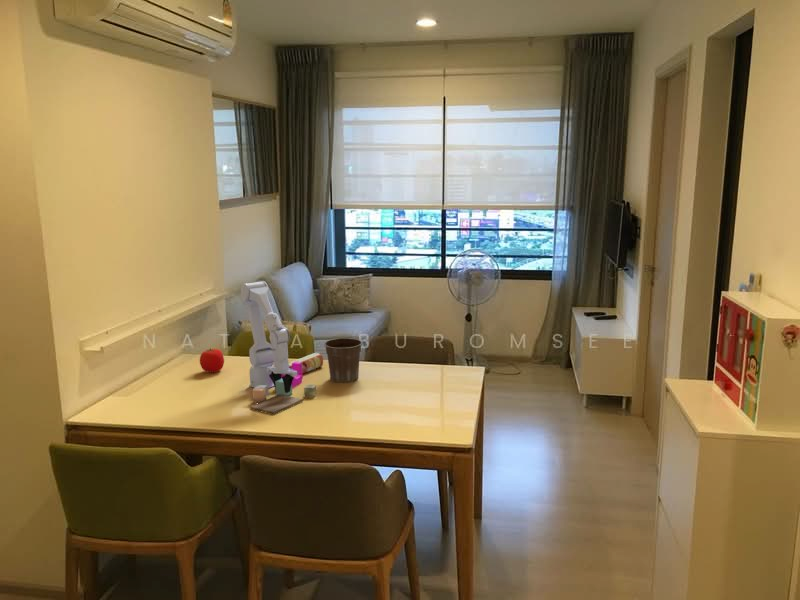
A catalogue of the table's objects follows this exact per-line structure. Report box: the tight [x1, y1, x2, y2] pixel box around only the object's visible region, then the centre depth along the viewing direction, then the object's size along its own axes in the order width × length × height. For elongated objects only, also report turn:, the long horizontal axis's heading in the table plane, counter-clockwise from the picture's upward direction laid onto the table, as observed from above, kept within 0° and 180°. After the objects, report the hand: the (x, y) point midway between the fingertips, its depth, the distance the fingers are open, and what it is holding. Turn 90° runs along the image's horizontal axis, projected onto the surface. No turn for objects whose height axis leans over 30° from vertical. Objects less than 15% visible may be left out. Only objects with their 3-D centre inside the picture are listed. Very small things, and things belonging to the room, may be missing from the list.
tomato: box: [199, 348, 225, 373], centre depth 289 cm, size 10×11×11 cm
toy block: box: [281, 362, 304, 389], centre depth 269 cm, size 15×6×8 cm, turn 157°
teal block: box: [275, 379, 293, 396], centre depth 256 cm, size 4×4×6 cm
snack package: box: [288, 352, 324, 375], centre depth 286 cm, size 21×7×7 cm, turn 144°
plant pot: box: [324, 337, 363, 383], centre depth 274 cm, size 16×16×16 cm
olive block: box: [303, 384, 317, 398], centre depth 254 cm, size 4×4×4 cm
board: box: [250, 394, 304, 415], centre depth 244 cm, size 12×16×1 cm
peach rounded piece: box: [252, 387, 267, 404], centre depth 249 cm, size 5×5×5 cm
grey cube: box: [254, 385, 269, 397], centre depth 255 cm, size 4×4×4 cm
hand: (282, 391), depth 256 cm, fingers closed on teal block, 4 cm apart
